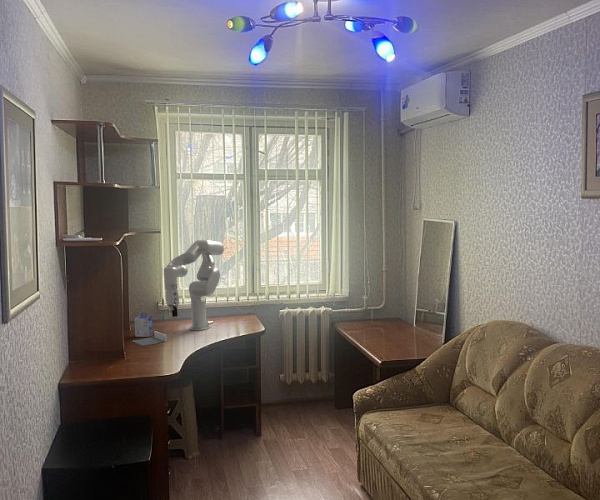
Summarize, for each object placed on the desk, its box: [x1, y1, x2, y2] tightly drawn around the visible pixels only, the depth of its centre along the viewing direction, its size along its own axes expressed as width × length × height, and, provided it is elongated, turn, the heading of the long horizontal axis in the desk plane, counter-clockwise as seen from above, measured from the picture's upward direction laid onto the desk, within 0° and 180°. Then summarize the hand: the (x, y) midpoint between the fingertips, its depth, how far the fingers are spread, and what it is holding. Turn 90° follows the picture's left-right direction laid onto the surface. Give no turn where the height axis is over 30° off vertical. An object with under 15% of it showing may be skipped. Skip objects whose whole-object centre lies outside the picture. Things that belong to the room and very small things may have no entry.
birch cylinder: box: [167, 305, 178, 319], centre depth 368 cm, size 5×5×7 cm
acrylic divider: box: [153, 330, 168, 343], centre depth 363 cm, size 1×16×4 cm, turn 37°
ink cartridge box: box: [134, 312, 154, 338], centre depth 374 cm, size 10×6×14 cm, turn 78°
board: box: [131, 336, 163, 347], centre depth 359 cm, size 13×16×1 cm
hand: (173, 315), depth 368 cm, fingers closed on birch cylinder, 5 cm apart
